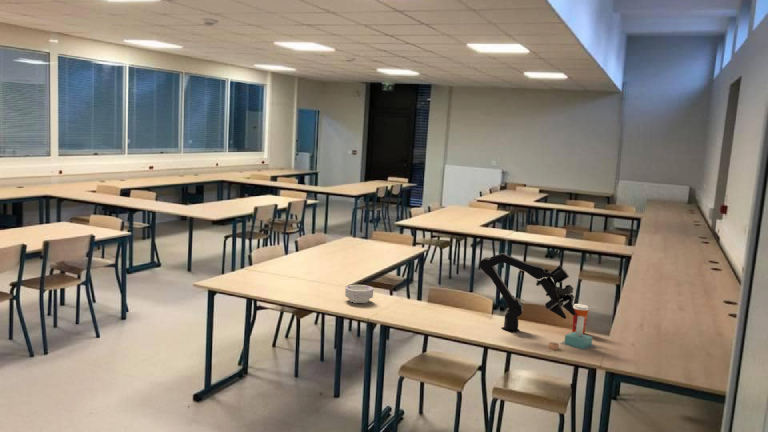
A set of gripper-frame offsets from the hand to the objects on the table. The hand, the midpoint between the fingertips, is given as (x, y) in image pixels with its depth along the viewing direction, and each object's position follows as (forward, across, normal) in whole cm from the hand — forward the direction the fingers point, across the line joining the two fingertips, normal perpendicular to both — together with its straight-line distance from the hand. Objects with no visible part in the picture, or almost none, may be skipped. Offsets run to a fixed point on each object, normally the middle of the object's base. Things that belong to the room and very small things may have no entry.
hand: (570, 316), depth 287 cm
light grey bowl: (-66, -34, +83) cm, 112 cm away
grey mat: (+12, 0, +5) cm, 13 cm away
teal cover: (+12, 0, +5) cm, 13 cm away
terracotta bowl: (+9, -16, +8) cm, 20 cm away
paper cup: (+6, +18, +11) cm, 22 cm away
